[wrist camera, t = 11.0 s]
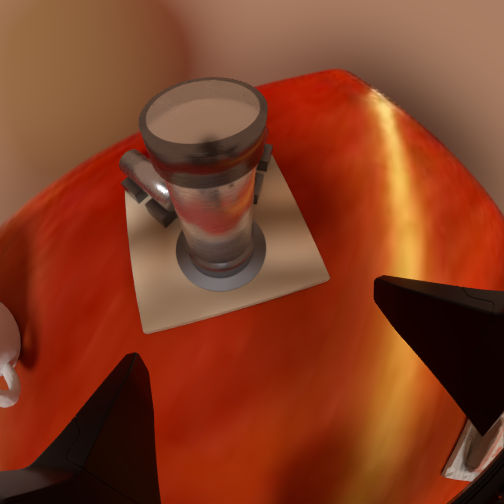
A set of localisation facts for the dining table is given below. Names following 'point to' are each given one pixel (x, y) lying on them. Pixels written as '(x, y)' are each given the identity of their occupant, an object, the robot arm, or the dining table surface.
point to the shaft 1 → (147, 186)
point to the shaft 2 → (262, 168)
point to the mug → (9, 356)
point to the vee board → (221, 289)
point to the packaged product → (474, 451)
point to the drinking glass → (209, 165)
